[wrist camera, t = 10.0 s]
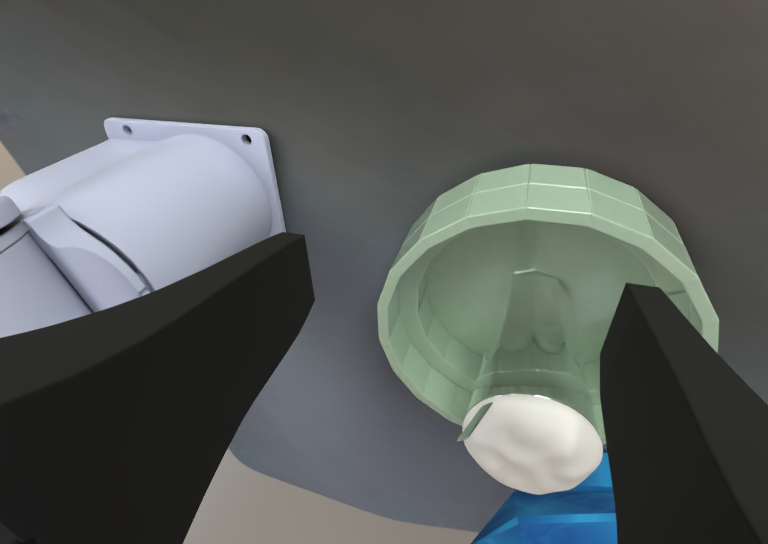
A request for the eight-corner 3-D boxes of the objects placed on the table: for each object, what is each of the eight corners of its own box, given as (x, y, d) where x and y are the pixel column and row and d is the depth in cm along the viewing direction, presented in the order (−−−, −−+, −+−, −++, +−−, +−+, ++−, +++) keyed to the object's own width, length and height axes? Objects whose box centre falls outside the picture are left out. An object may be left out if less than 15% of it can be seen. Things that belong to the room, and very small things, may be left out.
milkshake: (537, 230, 19) (529, 419, 12) (606, 311, 21) (639, 529, 13) (457, 277, 22) (407, 455, 14) (522, 346, 23) (509, 544, 16)
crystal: (727, 638, 22) (485, 642, 25) (652, 476, 29) (471, 492, 32) (749, 566, 18) (461, 579, 21) (656, 401, 26) (451, 426, 28)
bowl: (403, 353, 27) (382, 412, 24) (402, 147, 20) (370, 190, 16) (636, 399, 24) (650, 476, 20) (743, 173, 16) (795, 235, 13)
